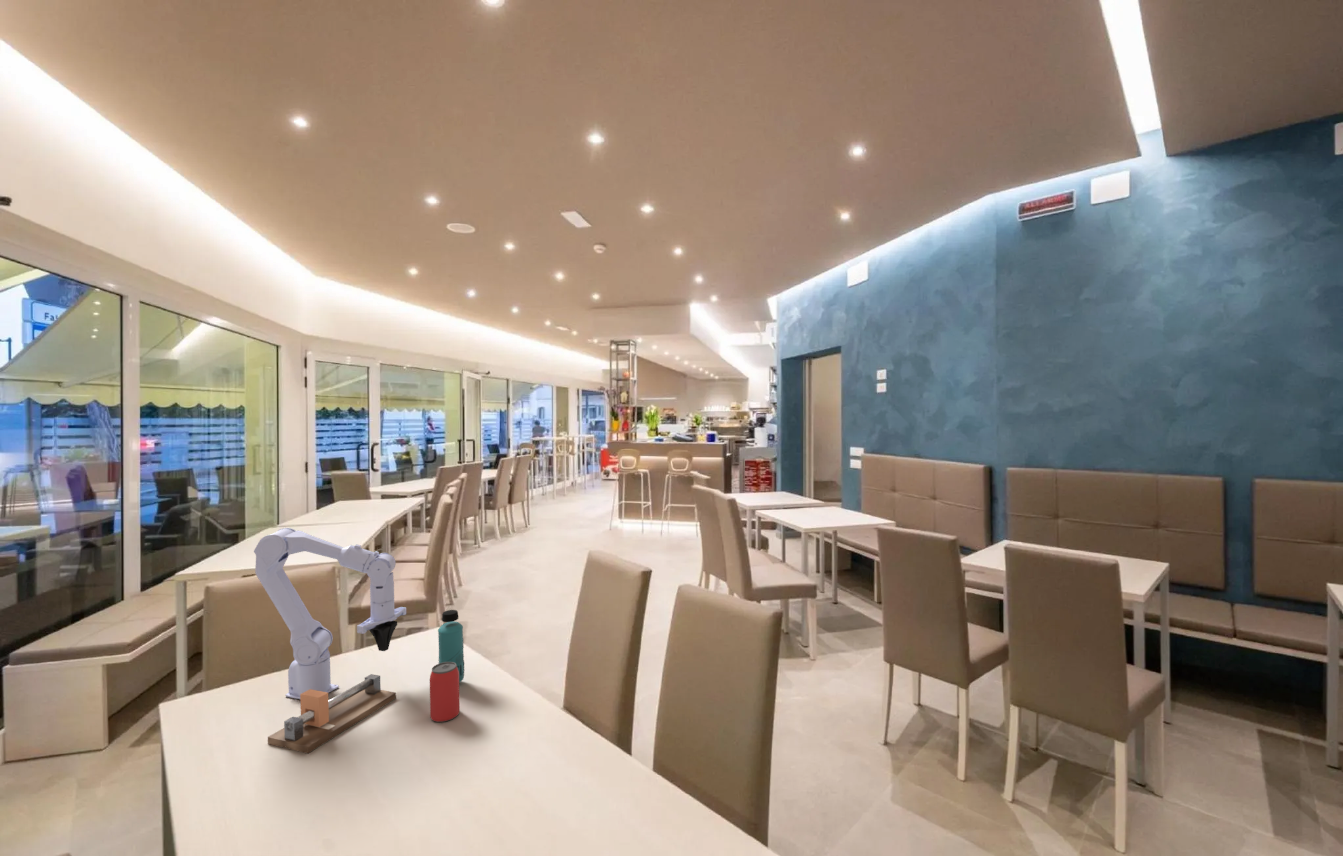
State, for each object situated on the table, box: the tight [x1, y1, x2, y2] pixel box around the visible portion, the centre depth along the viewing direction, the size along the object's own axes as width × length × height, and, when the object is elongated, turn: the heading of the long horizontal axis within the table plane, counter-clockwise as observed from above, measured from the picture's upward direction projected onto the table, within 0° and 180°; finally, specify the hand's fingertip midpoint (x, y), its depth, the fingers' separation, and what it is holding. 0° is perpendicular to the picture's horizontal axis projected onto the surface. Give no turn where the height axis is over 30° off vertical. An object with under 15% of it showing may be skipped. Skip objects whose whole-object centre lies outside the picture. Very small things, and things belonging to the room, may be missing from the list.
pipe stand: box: [283, 673, 382, 742], centre depth 131 cm, size 3×23×4 cm, turn 162°
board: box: [267, 689, 397, 754], centre depth 131 cm, size 12×24×2 cm, turn 162°
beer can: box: [429, 662, 461, 723], centre depth 132 cm, size 7×7×12 cm
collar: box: [299, 689, 329, 727], centre depth 125 cm, size 6×2×7 cm, turn 72°
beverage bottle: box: [437, 609, 466, 683], centre depth 147 cm, size 6×7×20 cm
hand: (383, 649), depth 148 cm, fingers closed
